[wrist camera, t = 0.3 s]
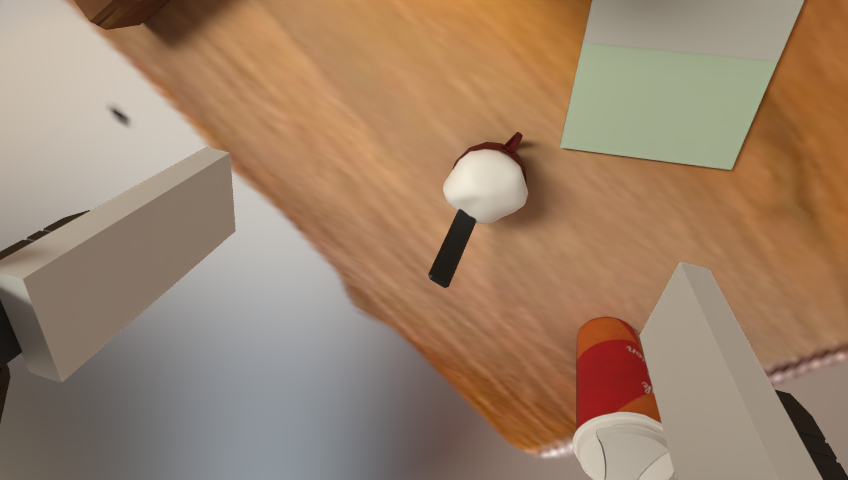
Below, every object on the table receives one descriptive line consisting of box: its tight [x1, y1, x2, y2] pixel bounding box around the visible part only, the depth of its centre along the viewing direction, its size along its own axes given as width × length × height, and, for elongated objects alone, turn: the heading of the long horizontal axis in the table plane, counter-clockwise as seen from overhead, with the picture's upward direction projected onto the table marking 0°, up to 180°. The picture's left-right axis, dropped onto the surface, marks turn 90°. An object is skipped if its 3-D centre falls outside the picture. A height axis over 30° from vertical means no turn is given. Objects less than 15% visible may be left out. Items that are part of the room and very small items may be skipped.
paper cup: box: [572, 317, 674, 480], centre depth 41 cm, size 8×8×14 cm
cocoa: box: [428, 132, 528, 288], centre depth 36 cm, size 10×6×12 cm, turn 128°
